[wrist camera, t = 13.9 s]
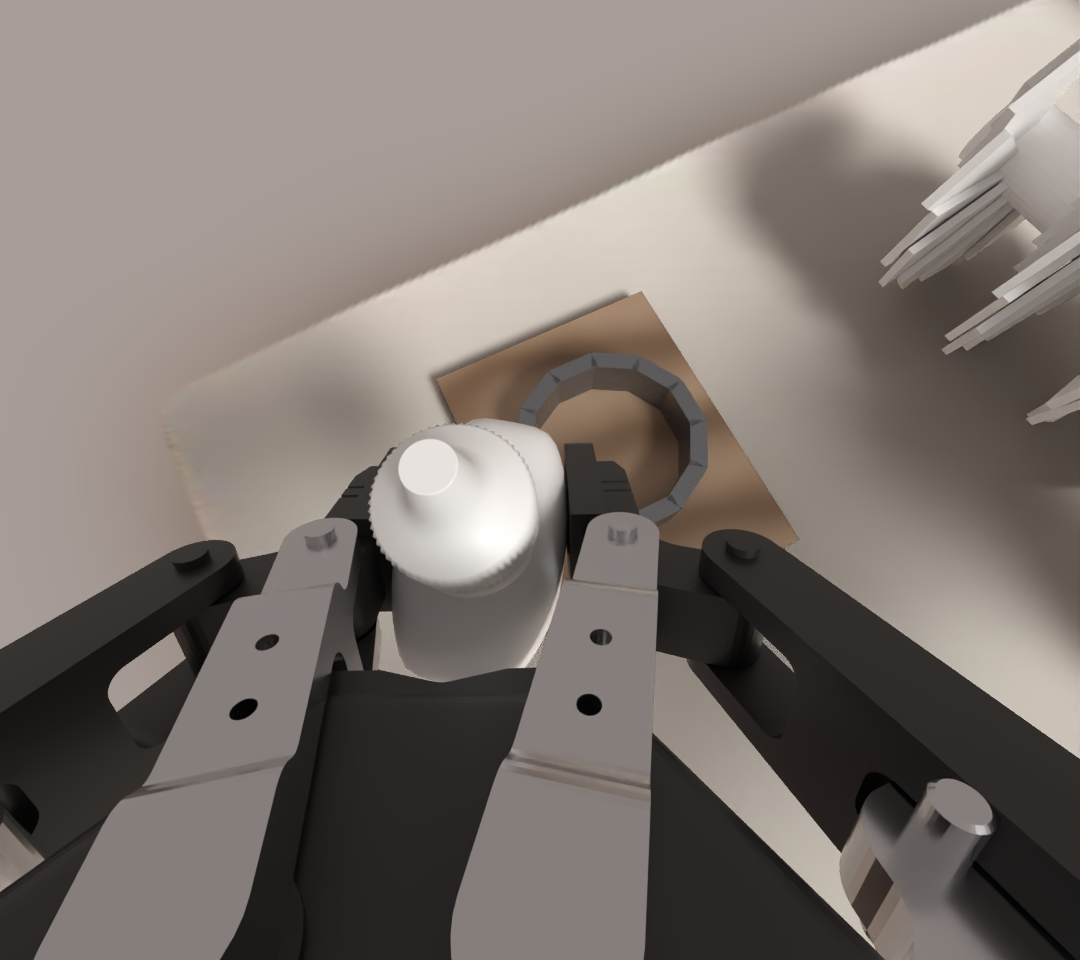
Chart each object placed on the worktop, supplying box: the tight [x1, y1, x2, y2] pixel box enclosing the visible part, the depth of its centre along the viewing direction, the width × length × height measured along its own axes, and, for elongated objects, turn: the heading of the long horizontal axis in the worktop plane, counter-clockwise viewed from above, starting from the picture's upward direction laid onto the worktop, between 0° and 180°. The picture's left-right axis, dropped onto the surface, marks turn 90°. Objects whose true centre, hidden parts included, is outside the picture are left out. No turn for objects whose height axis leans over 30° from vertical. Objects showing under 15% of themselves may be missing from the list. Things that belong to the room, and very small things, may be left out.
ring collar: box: [519, 352, 708, 527], centre depth 31 cm, size 11×11×3 cm
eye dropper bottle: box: [368, 418, 568, 682], centre depth 11 cm, size 4×6×12 cm
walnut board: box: [436, 291, 799, 626], centre depth 33 cm, size 20×16×2 cm
